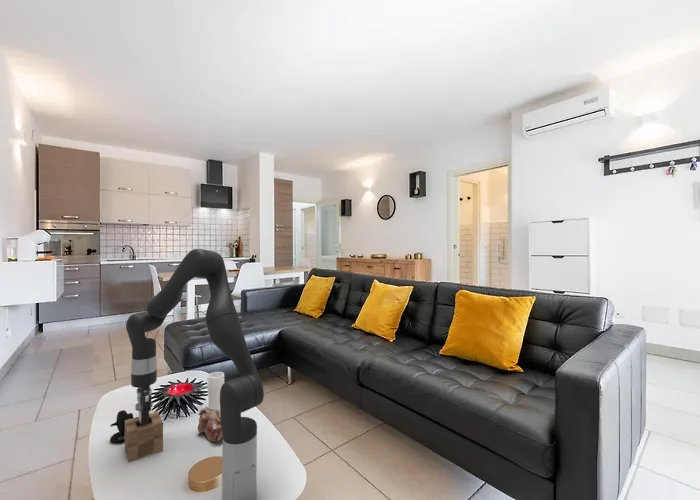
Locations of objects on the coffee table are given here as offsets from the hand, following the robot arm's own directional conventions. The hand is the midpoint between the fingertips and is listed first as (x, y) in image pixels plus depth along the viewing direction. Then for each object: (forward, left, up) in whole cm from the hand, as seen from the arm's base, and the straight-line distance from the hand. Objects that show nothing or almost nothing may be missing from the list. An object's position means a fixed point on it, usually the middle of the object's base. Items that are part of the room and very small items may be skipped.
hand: (143, 418), depth 113 cm
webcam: (+12, +5, -11) cm, 17 cm away
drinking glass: (+13, -28, -11) cm, 33 cm away
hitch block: (0, 0, -11) cm, 11 cm away
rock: (-5, -22, -11) cm, 25 cm away
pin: (0, 0, -5) cm, 5 cm away
